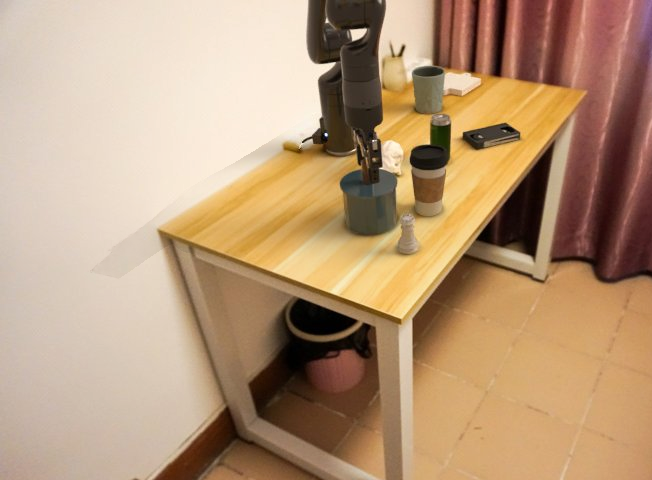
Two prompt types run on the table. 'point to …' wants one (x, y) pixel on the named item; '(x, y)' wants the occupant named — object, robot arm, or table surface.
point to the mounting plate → (459, 83)
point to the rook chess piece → (407, 235)
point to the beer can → (441, 131)
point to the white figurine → (391, 156)
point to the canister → (370, 214)
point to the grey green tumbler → (428, 88)
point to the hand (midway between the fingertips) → (368, 173)
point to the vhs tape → (491, 135)
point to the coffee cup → (428, 177)
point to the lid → (367, 183)
